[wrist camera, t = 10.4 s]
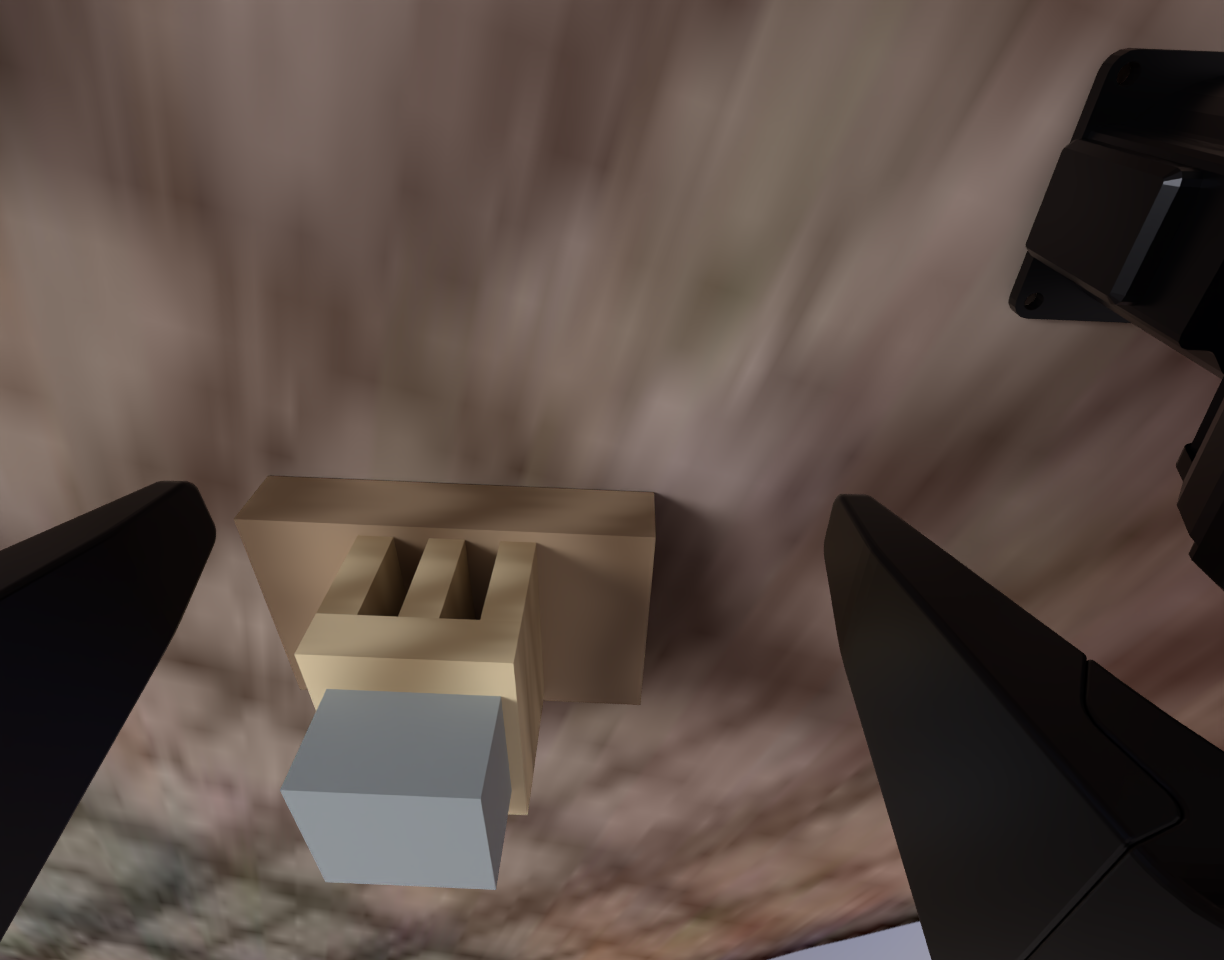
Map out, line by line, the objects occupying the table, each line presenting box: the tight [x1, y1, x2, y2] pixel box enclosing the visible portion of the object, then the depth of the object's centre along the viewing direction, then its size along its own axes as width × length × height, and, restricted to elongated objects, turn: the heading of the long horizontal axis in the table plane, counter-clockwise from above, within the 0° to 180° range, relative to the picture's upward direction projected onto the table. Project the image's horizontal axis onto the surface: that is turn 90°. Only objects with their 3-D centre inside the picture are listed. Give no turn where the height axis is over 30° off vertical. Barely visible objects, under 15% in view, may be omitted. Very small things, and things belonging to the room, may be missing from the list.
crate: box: [280, 689, 512, 890], centre depth 19 cm, size 5×5×3 cm
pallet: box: [294, 535, 544, 815], centre depth 22 cm, size 6×8×5 cm
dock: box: [234, 476, 656, 705], centre depth 25 cm, size 14×9×2 cm, turn 88°
